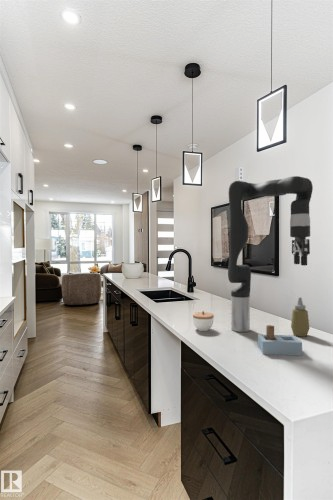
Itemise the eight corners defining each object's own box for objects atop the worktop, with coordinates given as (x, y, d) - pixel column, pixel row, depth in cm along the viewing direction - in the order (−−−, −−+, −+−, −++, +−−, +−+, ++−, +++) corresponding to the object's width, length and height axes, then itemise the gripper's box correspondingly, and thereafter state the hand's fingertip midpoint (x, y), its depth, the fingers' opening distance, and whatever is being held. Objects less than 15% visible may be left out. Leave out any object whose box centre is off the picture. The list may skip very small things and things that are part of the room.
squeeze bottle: (299, 331, 144) (299, 295, 144) (313, 336, 136) (313, 298, 136) (287, 333, 141) (287, 296, 141) (300, 338, 133) (300, 299, 133)
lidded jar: (213, 333, 143) (213, 314, 143) (191, 331, 145) (191, 313, 145) (214, 327, 153) (214, 309, 153) (194, 326, 155) (193, 308, 155)
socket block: (257, 346, 123) (257, 334, 123) (294, 347, 122) (294, 335, 122) (262, 354, 114) (262, 341, 114) (302, 355, 113) (302, 342, 113)
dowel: (265, 349, 120) (265, 325, 120) (273, 349, 120) (273, 325, 120) (267, 351, 117) (267, 327, 117) (275, 351, 117) (275, 327, 117)
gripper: (285, 227, 127) (285, 264, 127) (296, 224, 112) (296, 265, 113) (303, 226, 126) (303, 263, 126) (316, 223, 112) (316, 265, 112)
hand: (300, 264), depth 119 cm, fingers open, 8 cm apart
